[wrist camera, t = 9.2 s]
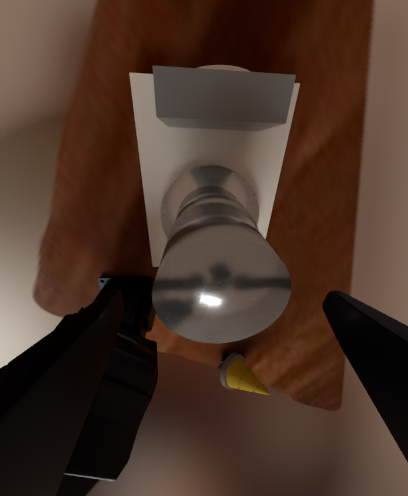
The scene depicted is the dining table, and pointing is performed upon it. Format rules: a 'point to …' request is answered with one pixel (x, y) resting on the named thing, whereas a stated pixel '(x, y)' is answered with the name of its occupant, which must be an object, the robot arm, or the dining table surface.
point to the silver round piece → (211, 200)
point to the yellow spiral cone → (239, 375)
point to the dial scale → (210, 138)
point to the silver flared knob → (219, 277)
